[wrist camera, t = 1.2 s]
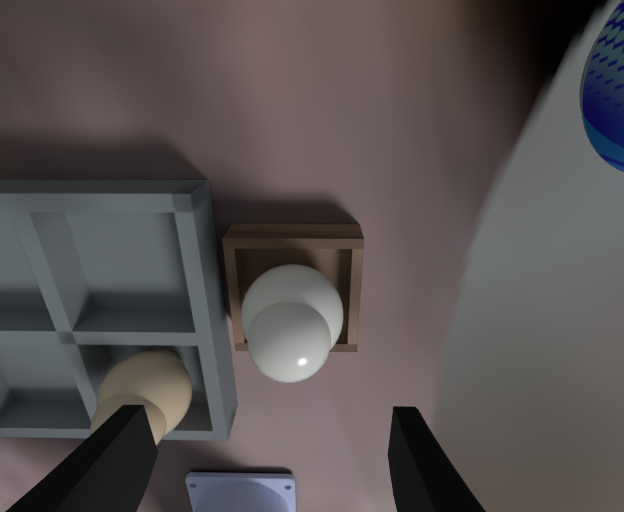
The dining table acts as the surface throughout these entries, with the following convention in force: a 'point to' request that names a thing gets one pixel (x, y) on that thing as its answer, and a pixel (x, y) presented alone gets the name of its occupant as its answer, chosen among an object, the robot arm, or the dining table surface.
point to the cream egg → (291, 321)
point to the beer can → (606, 91)
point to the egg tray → (108, 300)
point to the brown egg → (147, 390)
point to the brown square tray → (302, 251)
